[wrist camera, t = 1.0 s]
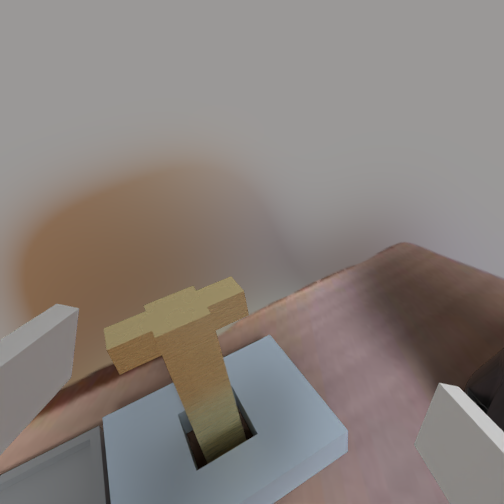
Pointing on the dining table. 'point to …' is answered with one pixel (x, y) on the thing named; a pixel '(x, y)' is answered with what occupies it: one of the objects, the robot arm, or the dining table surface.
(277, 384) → the cover plate
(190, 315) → the t key
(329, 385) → the dining table surface
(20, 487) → the tray
